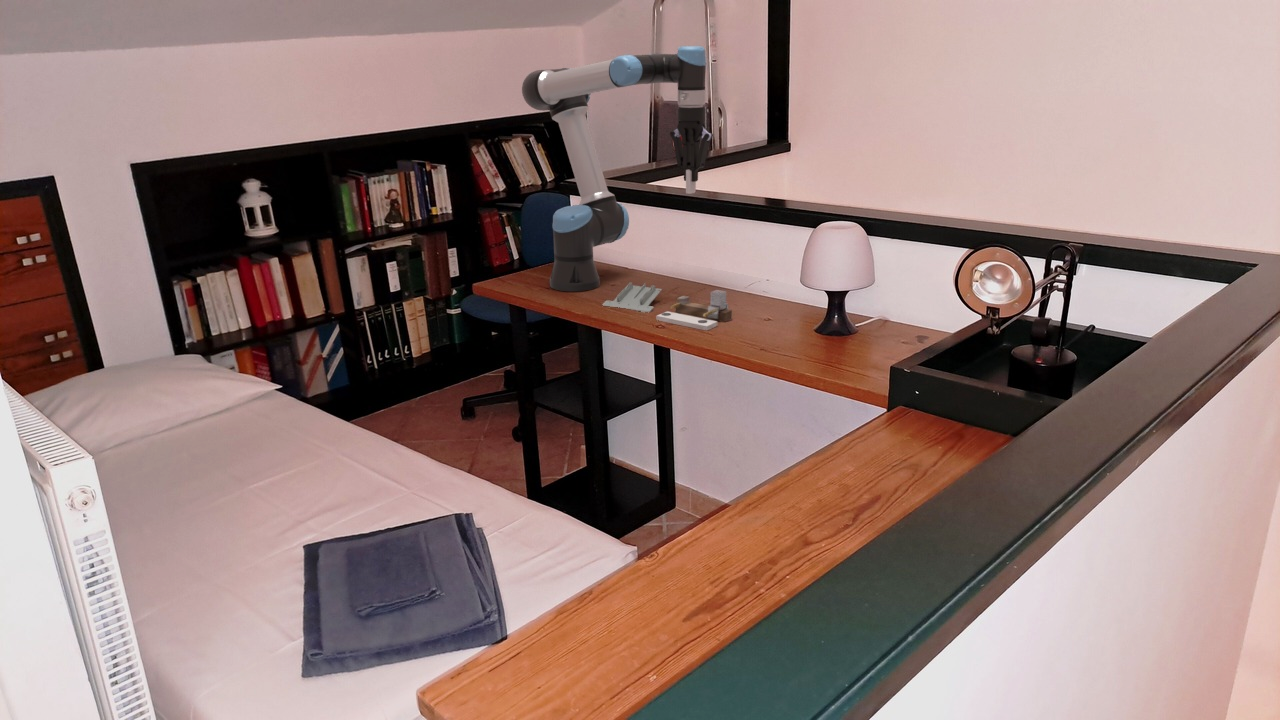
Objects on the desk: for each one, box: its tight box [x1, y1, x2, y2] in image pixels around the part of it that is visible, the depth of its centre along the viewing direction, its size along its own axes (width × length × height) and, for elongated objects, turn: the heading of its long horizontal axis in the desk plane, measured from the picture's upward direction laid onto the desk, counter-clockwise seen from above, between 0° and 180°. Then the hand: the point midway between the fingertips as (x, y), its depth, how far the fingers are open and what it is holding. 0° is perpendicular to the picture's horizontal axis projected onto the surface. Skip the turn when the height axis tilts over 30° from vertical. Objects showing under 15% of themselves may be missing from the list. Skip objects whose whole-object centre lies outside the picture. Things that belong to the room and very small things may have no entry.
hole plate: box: [655, 311, 718, 331], centre depth 240 cm, size 16×5×1 cm, turn 53°
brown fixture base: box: [669, 295, 733, 323], centre depth 244 cm, size 16×7×4 cm, turn 53°
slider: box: [703, 289, 729, 319], centre depth 240 cm, size 3×9×7 cm, turn 143°
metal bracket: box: [601, 281, 663, 314], centre depth 257 cm, size 14×6×15 cm
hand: (690, 192), depth 256 cm, fingers closed
